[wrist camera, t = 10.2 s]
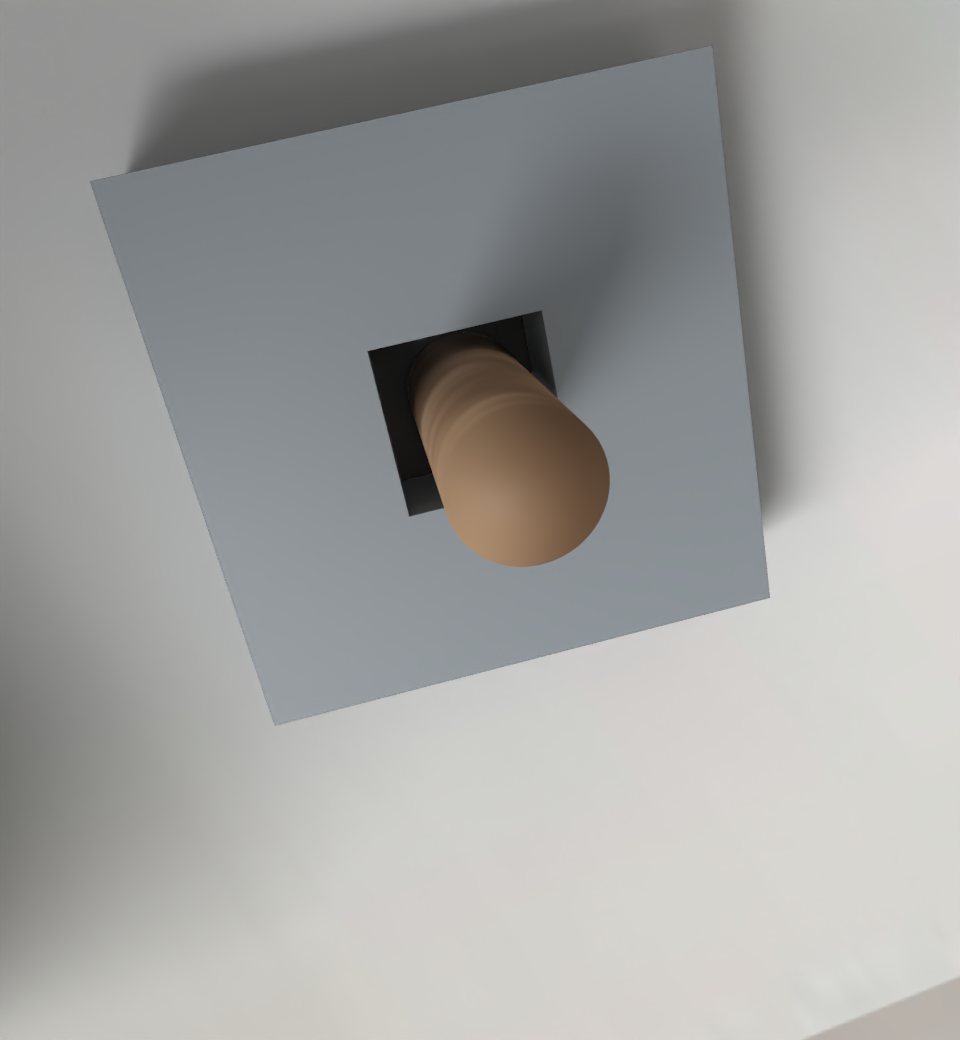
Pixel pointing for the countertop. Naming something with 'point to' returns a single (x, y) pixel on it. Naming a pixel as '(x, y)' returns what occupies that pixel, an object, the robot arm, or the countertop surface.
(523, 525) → the peg
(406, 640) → the socket board
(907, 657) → the countertop surface
